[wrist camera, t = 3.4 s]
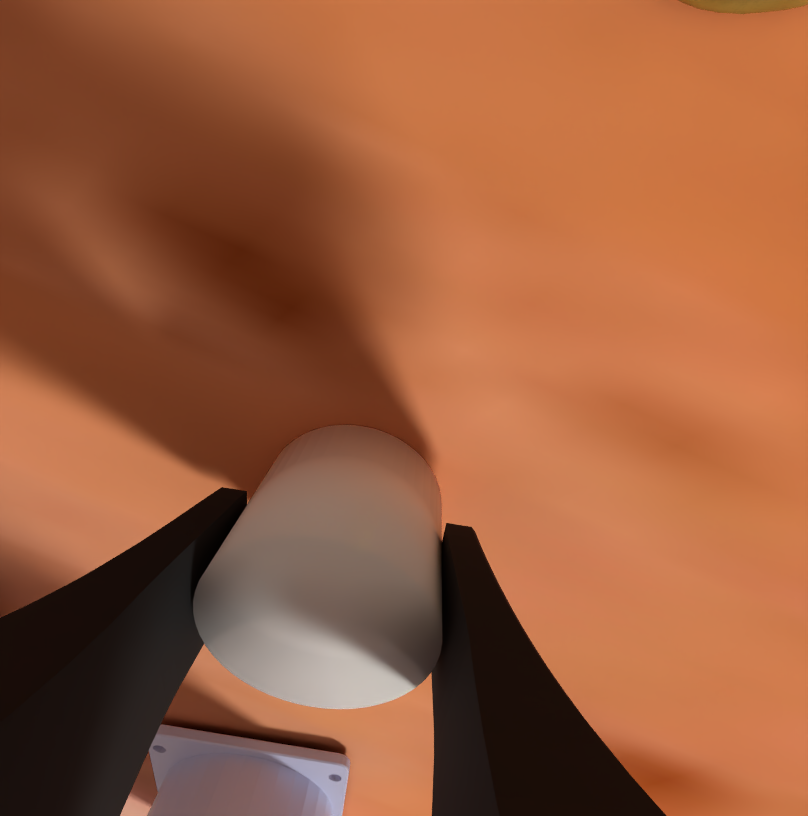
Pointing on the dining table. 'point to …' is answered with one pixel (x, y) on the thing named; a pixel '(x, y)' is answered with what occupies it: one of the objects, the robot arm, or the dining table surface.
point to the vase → (745, 5)
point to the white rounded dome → (331, 574)
